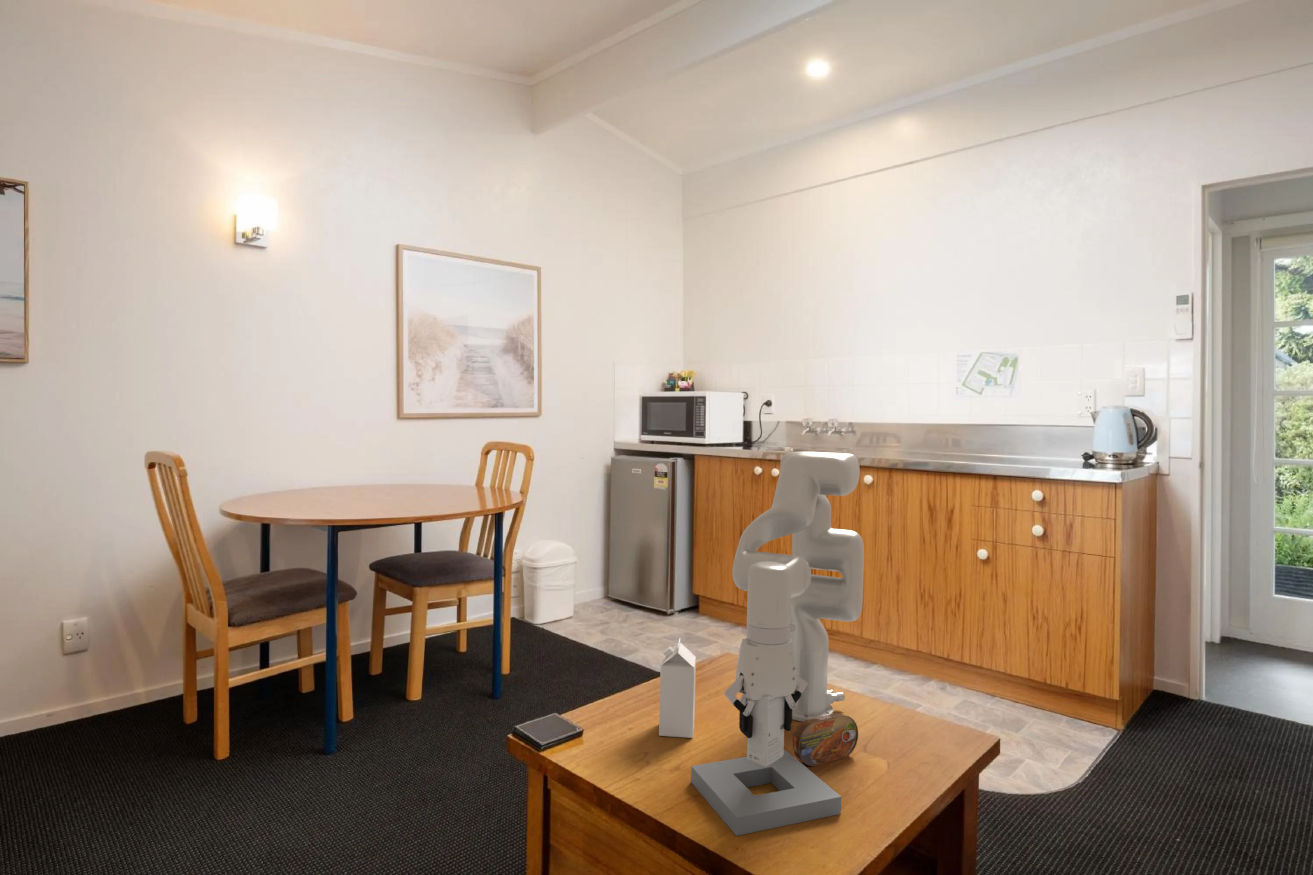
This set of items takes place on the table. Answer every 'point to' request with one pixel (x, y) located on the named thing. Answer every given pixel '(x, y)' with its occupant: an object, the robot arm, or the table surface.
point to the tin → (825, 739)
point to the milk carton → (677, 692)
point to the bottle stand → (749, 813)
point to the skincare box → (767, 731)
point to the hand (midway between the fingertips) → (765, 730)
